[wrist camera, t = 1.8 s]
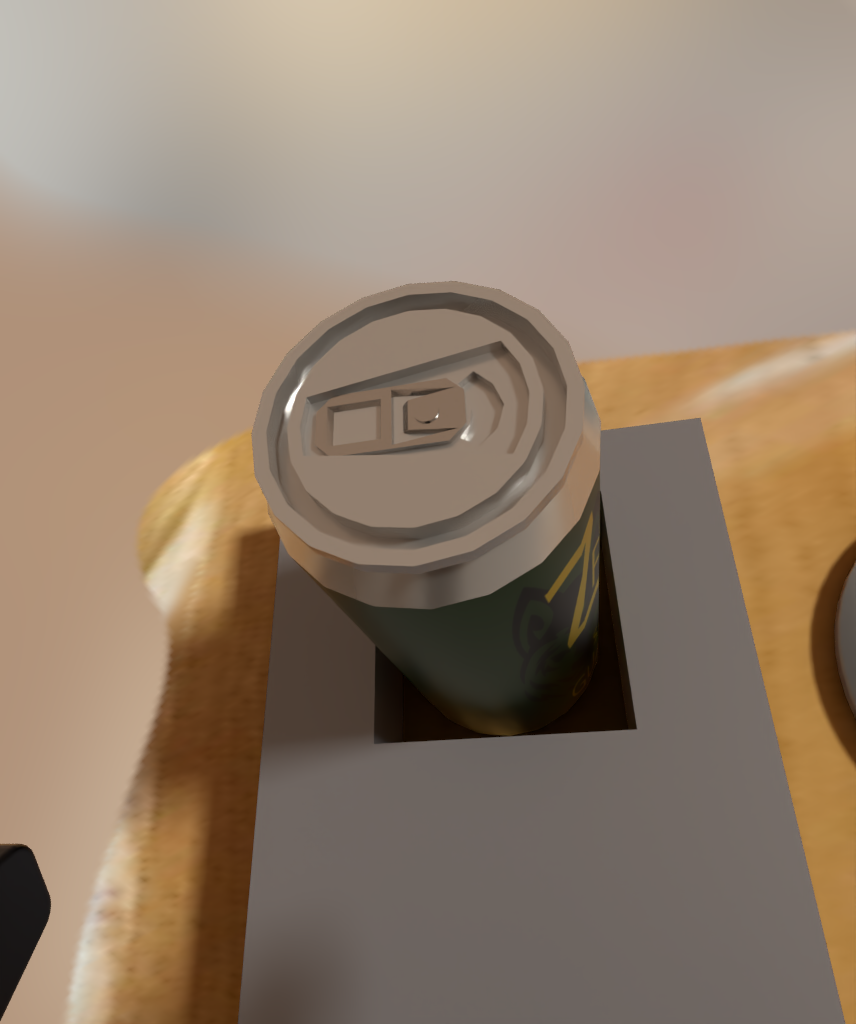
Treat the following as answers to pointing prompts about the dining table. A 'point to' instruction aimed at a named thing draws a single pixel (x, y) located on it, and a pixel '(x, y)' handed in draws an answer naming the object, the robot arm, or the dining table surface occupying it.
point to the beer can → (445, 494)
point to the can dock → (541, 812)
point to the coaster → (847, 638)
